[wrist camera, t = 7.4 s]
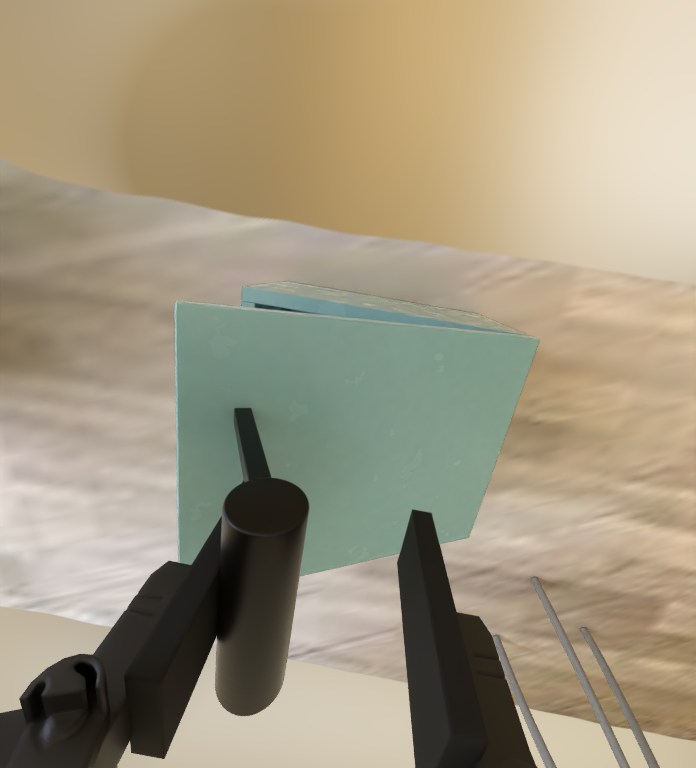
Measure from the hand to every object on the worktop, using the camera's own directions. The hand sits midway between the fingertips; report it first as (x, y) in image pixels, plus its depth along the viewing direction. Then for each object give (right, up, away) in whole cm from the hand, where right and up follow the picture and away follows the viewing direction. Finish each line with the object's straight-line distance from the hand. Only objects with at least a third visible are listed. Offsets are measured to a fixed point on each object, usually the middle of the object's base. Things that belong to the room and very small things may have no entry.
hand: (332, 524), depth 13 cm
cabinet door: (+2, +2, +5) cm, 6 cm away
